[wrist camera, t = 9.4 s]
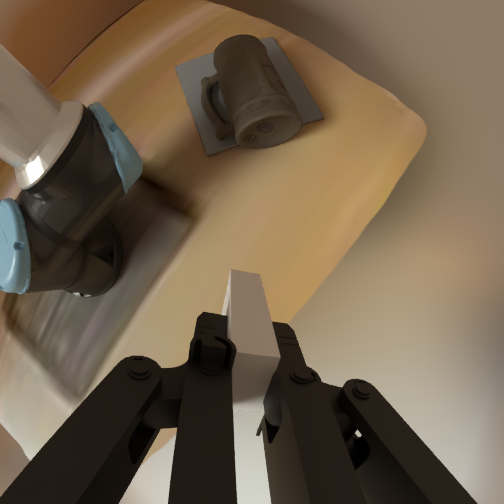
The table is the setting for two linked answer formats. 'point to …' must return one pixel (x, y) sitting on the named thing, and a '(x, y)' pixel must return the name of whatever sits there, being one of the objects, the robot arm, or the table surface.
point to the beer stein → (250, 95)
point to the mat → (192, 87)
